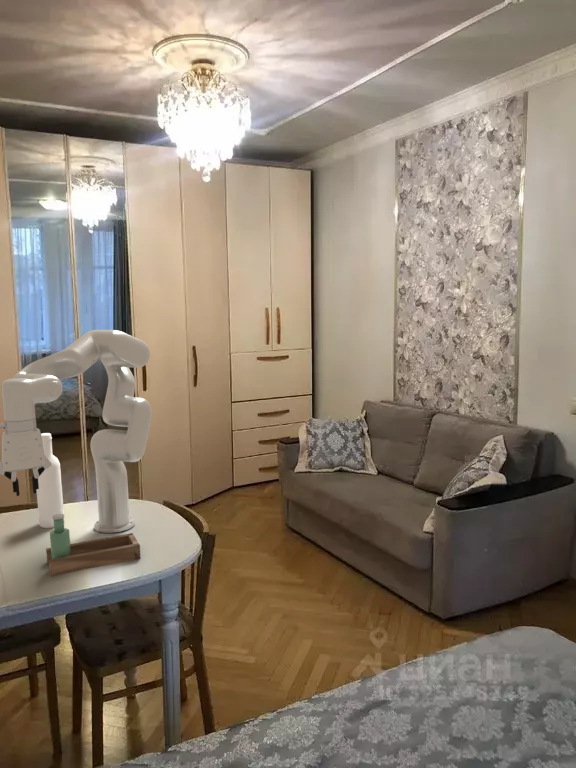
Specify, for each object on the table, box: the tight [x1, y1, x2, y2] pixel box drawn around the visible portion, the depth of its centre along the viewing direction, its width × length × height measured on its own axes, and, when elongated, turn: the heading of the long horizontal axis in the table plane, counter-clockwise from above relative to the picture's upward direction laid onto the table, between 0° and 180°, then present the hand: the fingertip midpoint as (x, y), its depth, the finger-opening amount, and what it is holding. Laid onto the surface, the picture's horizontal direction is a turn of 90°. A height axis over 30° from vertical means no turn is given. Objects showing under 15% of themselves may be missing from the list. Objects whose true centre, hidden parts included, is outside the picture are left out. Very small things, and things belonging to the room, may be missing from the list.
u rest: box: [45, 532, 141, 577], centre depth 178 cm, size 10×24×4 cm, turn 115°
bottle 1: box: [36, 432, 65, 529], centre depth 205 cm, size 8×8×30 cm
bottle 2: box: [49, 513, 71, 559], centre depth 174 cm, size 5×5×15 cm
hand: (26, 492), depth 168 cm, fingers open, 3 cm apart
